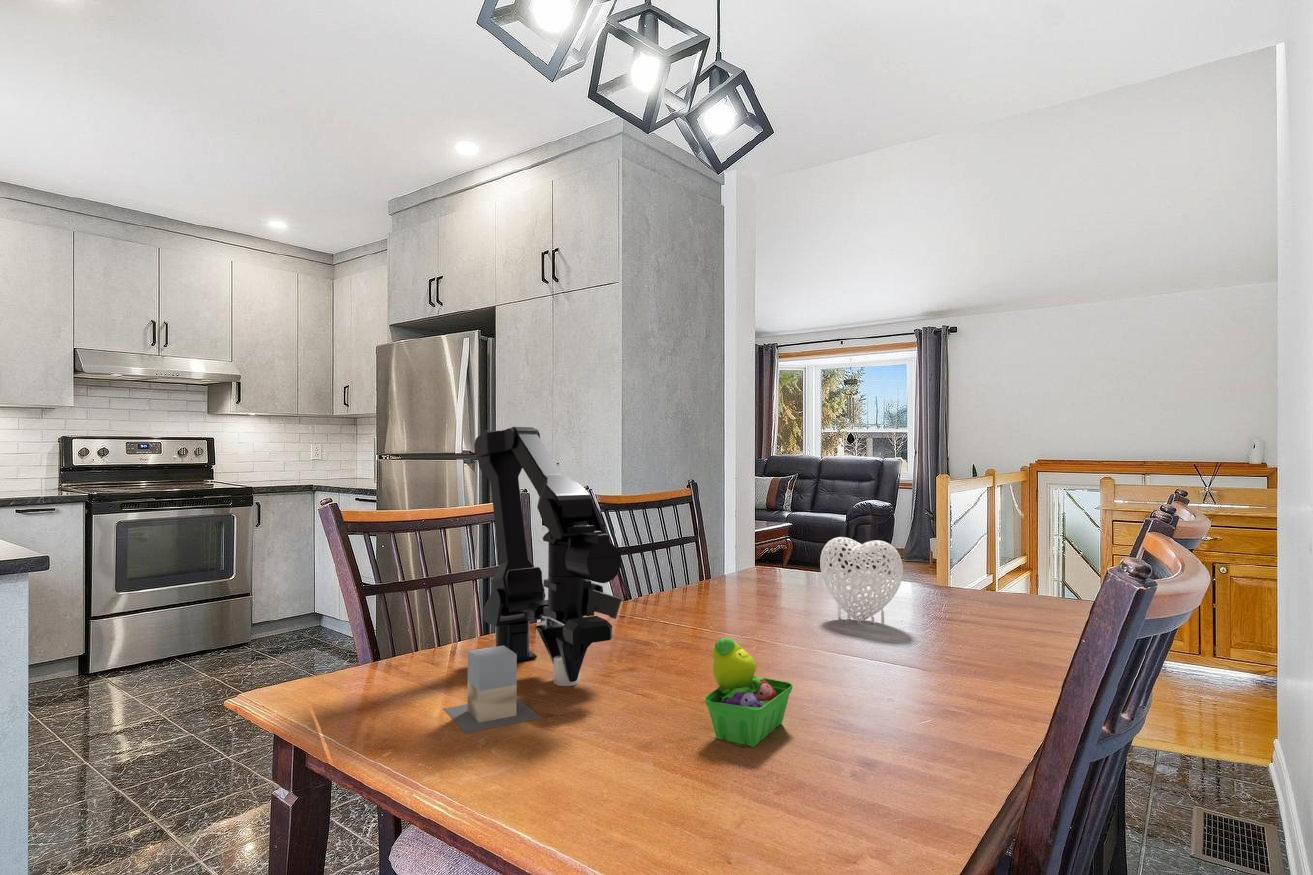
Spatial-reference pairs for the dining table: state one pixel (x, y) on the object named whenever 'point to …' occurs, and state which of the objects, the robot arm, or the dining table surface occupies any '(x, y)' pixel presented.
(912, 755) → the dining table surface
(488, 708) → the bottom block
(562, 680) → the white cylinder
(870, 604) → the decorative heart
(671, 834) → the dining table surface
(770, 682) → the fruit basket
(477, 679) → the top block
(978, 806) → the dining table surface
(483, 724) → the mat
